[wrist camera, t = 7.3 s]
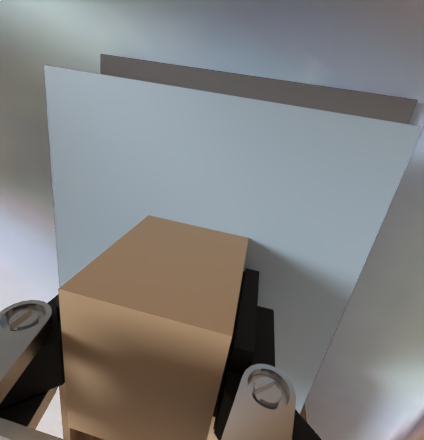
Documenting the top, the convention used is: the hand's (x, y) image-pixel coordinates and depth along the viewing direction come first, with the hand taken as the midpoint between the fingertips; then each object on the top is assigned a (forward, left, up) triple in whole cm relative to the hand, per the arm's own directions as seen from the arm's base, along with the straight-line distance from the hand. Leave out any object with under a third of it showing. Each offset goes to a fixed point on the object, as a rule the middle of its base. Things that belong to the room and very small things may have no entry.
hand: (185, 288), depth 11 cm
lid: (0, 0, -2) cm, 2 cm away
